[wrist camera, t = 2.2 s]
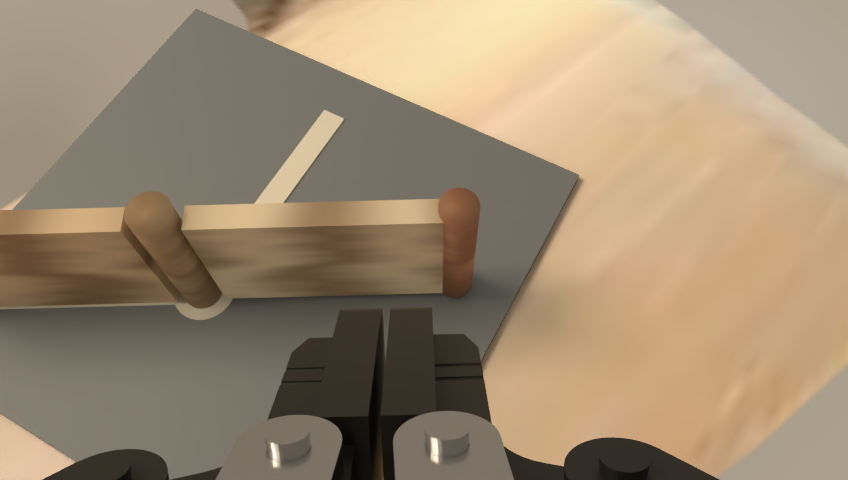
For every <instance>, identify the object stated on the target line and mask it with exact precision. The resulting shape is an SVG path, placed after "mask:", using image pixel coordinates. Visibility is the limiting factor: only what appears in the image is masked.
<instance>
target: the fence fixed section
mask: <svg viewBox="0 0 848 480" xmlns="http://www.w3.org/2000/svg"><path fill="white" fill-rule="evenodd" d="M181 227H182V219H181V218H180V216H179V214H178V213H177V211H176V210H175V208H174V206H173V205H172V203H171V202H170V200H169V199H168V197H167V196H165V195H164V194H162V193H160V192H155V191H149V192H144V193H141V194H139V195H137V196H136V197H134V198H133V199H132V200H131V201H130V202H129V203H128V205H127V206H126V208H125V207H112V208H74V209H37V210H0V307H17V306H55V305H93V304H130V303H168V302H178V296H179V292H180V293H181V295H182V296H183V297H184V299H185V300H186V301H187V302H188V304H189V305H191V306H192V307H194V308H198V309H204V308H208V307H211V306H213V305H214V304H215V303H217V302H218V300H219V299H220V298H221V295H222V292H221V290H220V289H219V287H218V286H217V284H216V283H215V281H214V280H213V278H212V277H211V275H210V273H209V272H208V270H207V269H206V267H205V266H204V264H203V263H202V261H201V260H200V258H199V257H198V255H197V254H196V252H195V250H194V249H193V247H192V246H191V244H190V243H189V241H188V240H187V238H186V237H185V235H184V234H183V232H182V231H181Z"/></svg>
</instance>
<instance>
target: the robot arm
mask: <svg viewBox="0 0 848 480" xmlns="http://www.w3.org/2000/svg"><path fill="white" fill-rule="evenodd" d="M383 478H384V480H719V479H717V478H715V477H713V476H711V475H709V474H707V473H705V472H703V471H701V470H699V469H697V468H695V467H694V466H692V465H690V464H688V463H686V462H684V461H682V460H680V459H678V458H676V457H674V456H672V455H670V454H668V453H666V452H664V451H662V450H660V449H658V448H656V447H654V446H652V445H649V444H646V443H643V442H640V441H636V440H632V439H625V438H599V439H593V440H590V441H586V442H584V443H581V444H579V445H577V446H576V447H574V448H573V449H572V450H571V451H570V452H569V453H568V455H567V456H566V458H565V462H564V467H563V466H558V465H552V464H546V463H542V462H537V461H533V460H530V459H527V458H524V457H522V456H519V455H517V454H515V453H513V452H512V451H510V450H508V449H507V448H506V447H504V446H503V442H502V439H501V436H500V434H499V432H498V430H497V429H496V428H495V426H494V425H492V423H491V418H490V412H489V406H488V400H487V394H486V389H485V383H484V379H483V371H482V366H481V360H480V354H479V348H478V346H477V345H476V344H474V343H473V342H472V341H471V340H470V339H469V338H468V337H467V336H466V335H465V334H433V317H432V307H410V308H390V318H389V328H388V339H387V350H386V361H385V340H384V320H383V310H382V308H376V309H340V311H339V314H338V318H337V322H336V326H335V330H334V334H333V337H324V338H308V339H307V340H306V341H305V342H304V343H302V344H301V345H300V346H299V347H297V348H296V349H295V350H294V351H293V352H292V353H291V356H290V359H289V361H288V364H287V367H286V371H285V372H284V375H283V378H282V381H281V385H280V386H279V389H278V392H277V394H276V397H275V400H274V402H273V405H272V408H271V411H270V413H269V416H268V419H267V420H266V421H263V422H261V423H259V424H256V425H255V426H253V427H251V428H249V429H248V430H247V431H245V432H244V433H243V434H242V435H241V436H240V437H239V438H238V440H237V441H236V442H235V444H234V446H233V448H232V450H231V452H230V454H229V455H228V457H227V459H226V461H225V463H224V465H223V466H222V467H219V468H216V469H213V470H210V471H206V472H202V473H197V474H193V475H189V476H184V477H180V478H175V479H171V480H383ZM43 480H169V474H168V468H167V465H166V462H165V461H164V459H163V458H162V457H160V456H159V455H157V454H155V453H153V452H150V451H146V450H140V449H121V450H113V451H108V452H104V453H100V454H96V455H93V456H91V457H88V458H85V459H83V460H81V461H79V462H76V463H74V464H72V465H70V466H68V467H66V468H64V469H62V470H60V471H59V472H57V473H55V474H53V475H51V476H49V477H47V478H45V479H43Z"/></svg>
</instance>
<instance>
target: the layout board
mask: <svg viewBox="0 0 848 480" xmlns="http://www.w3.org/2000/svg"><path fill="white" fill-rule="evenodd" d="M578 177H579V175H578V174H576V173H573V172H571V171H569V170H566V169H564V168H562V167H559V166H557V165H555V164H553V163H550V162H548V161H546V160H543V159H541V158H539V157H536V156H534V155H532V154H529V153H527V152H525V151H523V150H520V149H518V148H516V147H513V146H511V145H509V144H506V143H504V142H502V141H499V140H497V139H495V138H493V137H490V136H488V135H486V134H483V133H481V132H479V131H476V130H474V129H472V128H470V127H467V126H465V125H463V124H460V123H458V122H456V121H453V120H451V119H449V118H446V117H444V116H442V115H440V114H437V113H435V112H433V111H430V110H428V109H426V108H423V107H421V106H419V105H416V104H414V103H412V102H410V101H407V100H405V99H403V98H400V97H398V96H396V95H393V94H391V93H389V92H386V91H384V90H382V89H380V88H377V87H375V86H373V85H370V84H368V83H366V82H363V81H361V80H359V79H357V78H354V77H352V76H350V75H347V74H345V73H343V72H340V71H338V70H336V69H333V68H331V67H329V66H327V65H324V64H322V63H320V62H317V61H315V60H313V59H310V58H308V57H306V56H303V55H301V54H299V53H297V52H294V51H292V50H290V49H287V48H285V47H283V46H280V45H278V44H276V43H273V42H271V41H269V40H267V39H264V38H262V37H260V36H257V35H255V34H253V33H250V32H248V31H246V30H243V29H241V28H239V27H237V26H234V25H232V24H229V23H227V22H225V21H223V20H220V19H218V18H216V17H214V16H211V15H209V14H207V13H204V12H202V11H200V10H197V9H196V10H195V11H194V12H193V13H192V14H191V15H190V16H189V17H188V18H187V19H186V20H185V22H184V23H183V24H182V25H181V26H180V27H179V28H178V29H177V30H176V32H174V34H173V35H172V36H171V37H170V38H169V39H168V40H167V41H166V42H165V44H164V45H163V46H162V47H161V48H160V49H159V50H158V51H157V52H156V53H155V54H154V55H153V57H152V58H151V59H150V60H149V61H148V62H147V63H146V64H145V65H144V66H143V67H142V69H141V70H140V71H139V72H138V73H137V74H136V75H135V76H134V77H133V78H132V80H131V81H130V82H129V83H128V84H127V85H126V86H125V87H124V88H123V90H121V92H120V93H119V94H118V95H117V96H116V97H115V98H114V99H113V100H112V101H111V103H110V104H109V105H108V106H107V107H106V108H105V109H104V110H103V111H102V112H101V113H100V115H99V116H98V117H97V118H96V119H95V120H94V121H93V122H92V123H91V124H90V125H89V127H88V128H87V129H86V130H85V131H84V132H83V133H82V134H81V135H80V136H79V138H78V139H77V140H76V141H75V142H74V143H73V144H72V145H71V146H70V147H69V149H68V150H67V151H66V152H65V153H64V154H63V155H62V156H61V157H60V158H59V159H58V160H57V162H56V163H55V164H54V165H53V166H52V167H51V168H50V169H49V170H48V172H47V173H46V174H45V175H44V176H43V177H42V178H41V179H40V180H39V181H38V182H37V183H36V185H35V186H34V187H33V188H32V189H31V190H30V191H29V192H28V193H27V194H26V195H25V197H24V198H23V199H22V200H21V201H20V202H19V203H18V204H17V205H16V206H15V208H14V209H13V210H37V209H74V208H112V207H125V208H126V206H127V205H128V203H129V202H130V201H131V200H132V199H133V198H134V197H136V196H137V195H139V194H141V193H144V192H149V191H155V192H160V193H162V194H164V195H165V196H167V197H168V199H169V200H170V202H171V203H172V205H173V206H174V208H175V210H176V211H177V213H178V214H179V216H180V218H181V219H182V220H183V214H184V207H185V206H187V205H225V204H263V203H300V202H338V201H376V200H414V199H440V197H441V196H442V195H443V194H444V193H445V192H446V191H448V190H450V189H453V188H465V189H468V190H470V191H472V192H473V193H475V194H476V195H477V197H478V198H479V201H480V216H479V225H478V234H477V243H476V252H475V261H474V270H473V279H472V286H471V289H470V291H469V292H468V293H467V294H466V295H464V296H462V297H459V298H451V297H448V296H446V295H444V294H443V293H424V294H386V295H348V296H310V297H272V298H234V299H226V298H225V296H224V295H223V293H222V295H221V298H220V299H219V300H218V302H217V303H215V304H214V305H213V306H211V307H208V308H204V309H198V308H194V307H192V306H191V305H189V304H188V302H187V301H186V300H185V299H184V297H183V296H182V295H181V293H180V292H179V296H178V302H168V303H130V304H93V305H55V306H17V307H0V413H1V414H2V415H4V416H5V417H7V418H8V419H10V420H12V421H13V422H15V423H16V424H18V425H19V426H21V427H23V428H24V429H26V430H27V431H29V432H30V433H32V434H34V435H35V436H37V437H38V438H40V439H41V440H43V441H45V442H46V443H48V444H49V445H51V446H52V447H54V448H56V449H57V450H59V451H60V452H62V453H63V454H65V455H66V456H68V457H70V458H71V459H73V460H74V461H76V462H79V461H81V460H83V459H85V458H88V457H91V456H93V455H96V454H100V453H104V452H108V451H113V450H121V449H140V450H146V451H150V452H153V453H155V454H157V455H159V456H160V457H162V458H163V459H164V461H165V462H166V465H167V468H168V474H169V480H171V479H175V478H180V477H184V476H189V475H193V474H197V473H202V472H206V471H210V470H213V469H216V468H219V467H222V466H223V465H224V463H225V461H226V459H227V457H228V455H229V454H230V452H231V450H232V448H233V446H234V444H235V442H236V441H237V440H238V438H239V437H240V436H241V435H242V434H243V433H244V432H245V431H247V430H248V429H249V428H251V427H253V426H255V425H256V424H259V423H261V422H263V421H266V420H267V419H268V416H269V413H270V411H271V408H272V405H273V402H274V400H275V397H276V394H277V392H278V389H279V386H280V385H281V381H282V378H283V375H284V372H285V371H286V367H287V364H288V361H289V359H290V356H291V353H292V352H293V351H294V350H295V349H296V348H297V347H299V346H300V345H301V344H302V343H304V342H305V341H306V340H307V339H308V338H324V337H333V334H334V330H335V326H336V322H337V318H338V314H339V311H340V309H376V308H382V310H383V320H384V340H385V361H386V350H387V339H388V328H389V318H390V308H410V307H432V317H433V334H465V335H466V336H467V337H468V338H469V339H470V340H471V341H472V342H473V343H474V344H476V345H477V346H478V348H479V354H480V360H481V361H482V359H483V357H484V355H485V354H486V352H487V350H488V348H489V346H490V344H491V342H492V340H493V338H494V337H495V335H496V333H497V331H498V329H499V327H500V325H501V323H502V321H503V320H504V318H505V316H506V314H507V312H508V310H509V308H510V306H511V304H512V303H513V301H514V299H515V297H516V295H517V293H518V291H519V289H520V288H521V286H522V284H523V282H524V280H525V278H526V276H527V274H528V272H529V271H530V269H531V267H532V265H533V263H534V261H535V259H536V257H537V255H538V254H539V252H540V250H541V248H542V246H543V244H544V242H545V240H546V238H547V237H548V235H549V233H550V231H551V229H552V227H553V225H554V223H555V221H556V220H557V218H558V216H559V214H560V212H561V210H562V208H563V206H564V204H565V203H566V201H567V199H568V197H569V195H570V193H571V191H572V189H573V187H574V186H575V184H576V182H577V180H578ZM383 480H384V478H383Z"/></svg>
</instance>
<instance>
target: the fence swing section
mask: <svg viewBox="0 0 848 480" xmlns="http://www.w3.org/2000/svg"><path fill="white" fill-rule="evenodd" d="M479 216H480V201H479V198H478V197H477V195H476V194H475V193H473V192H472V191H470V190H468V189H465V188H453V189H450V190H448V191H446V192H445V193H444V194H443V195H442V196H441V197H440V199H414V200H376V201H338V202H300V203H263V204H225V205H187V206H185V207H184V214H183V220H182V227H181V231H182V232H183V234H184V235H185V237H186V238H187V240H188V241H189V243H190V244H191V246H192V247H193V249H194V250H195V252H196V254H197V255H198V257H199V258H200V260H201V261H202V263H203V264H204V266H205V267H206V269H207V270H208V272H209V273H210V275H211V277H212V278H213V280H214V281H215V283H216V284H217V286H218V287H219V289H220V290H221V292H222V293H223V295H224V296H225V298H226V299H234V298H272V297H310V296H348V295H386V294H424V293H443V294H444V295H446V296H448V297H451V298H459V297H462V296H464V295H466V294H467V293H468V292H469V291H470V289H471V286H472V279H473V270H474V261H475V252H476V243H477V234H478V225H479Z"/></svg>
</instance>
